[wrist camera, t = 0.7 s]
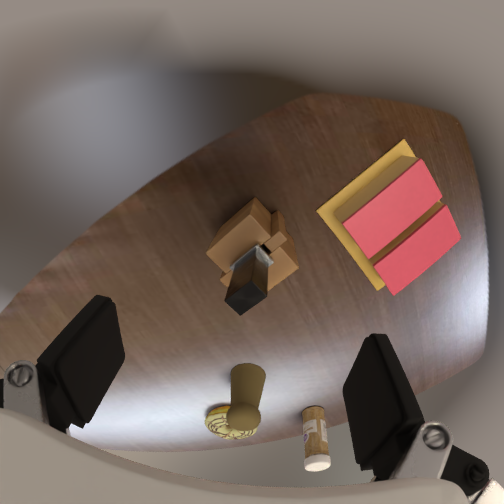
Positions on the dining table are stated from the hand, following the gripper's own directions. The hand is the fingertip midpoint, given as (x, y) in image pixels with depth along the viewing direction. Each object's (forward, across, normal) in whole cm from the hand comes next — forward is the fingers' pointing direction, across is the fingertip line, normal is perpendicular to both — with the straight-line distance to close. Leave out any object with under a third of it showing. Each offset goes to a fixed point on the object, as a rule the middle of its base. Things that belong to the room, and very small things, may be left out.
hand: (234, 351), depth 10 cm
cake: (+26, -17, 0) cm, 31 cm away
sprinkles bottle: (+26, -16, +39) cm, 50 cm away
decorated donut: (+26, 0, +44) cm, 51 cm away
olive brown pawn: (+26, -2, +30) cm, 40 cm away
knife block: (+26, 0, +4) cm, 27 cm away
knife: (+26, 0, +4) cm, 27 cm away
